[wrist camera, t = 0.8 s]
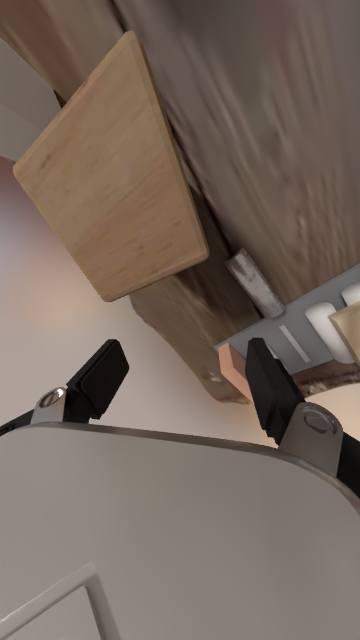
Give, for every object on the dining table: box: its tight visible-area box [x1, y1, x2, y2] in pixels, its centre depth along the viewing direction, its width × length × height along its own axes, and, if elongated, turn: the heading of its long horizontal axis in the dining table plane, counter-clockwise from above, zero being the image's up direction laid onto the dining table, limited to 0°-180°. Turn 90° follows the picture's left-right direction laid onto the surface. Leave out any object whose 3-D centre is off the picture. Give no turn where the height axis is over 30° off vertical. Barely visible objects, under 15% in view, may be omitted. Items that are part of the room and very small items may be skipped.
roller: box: [224, 248, 285, 318], centre depth 28 cm, size 4×14×4 cm, turn 44°
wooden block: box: [13, 30, 209, 302], centre depth 18 cm, size 10×10×20 cm
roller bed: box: [214, 263, 360, 403], centre depth 29 cm, size 38×19×9 cm, turn 134°
